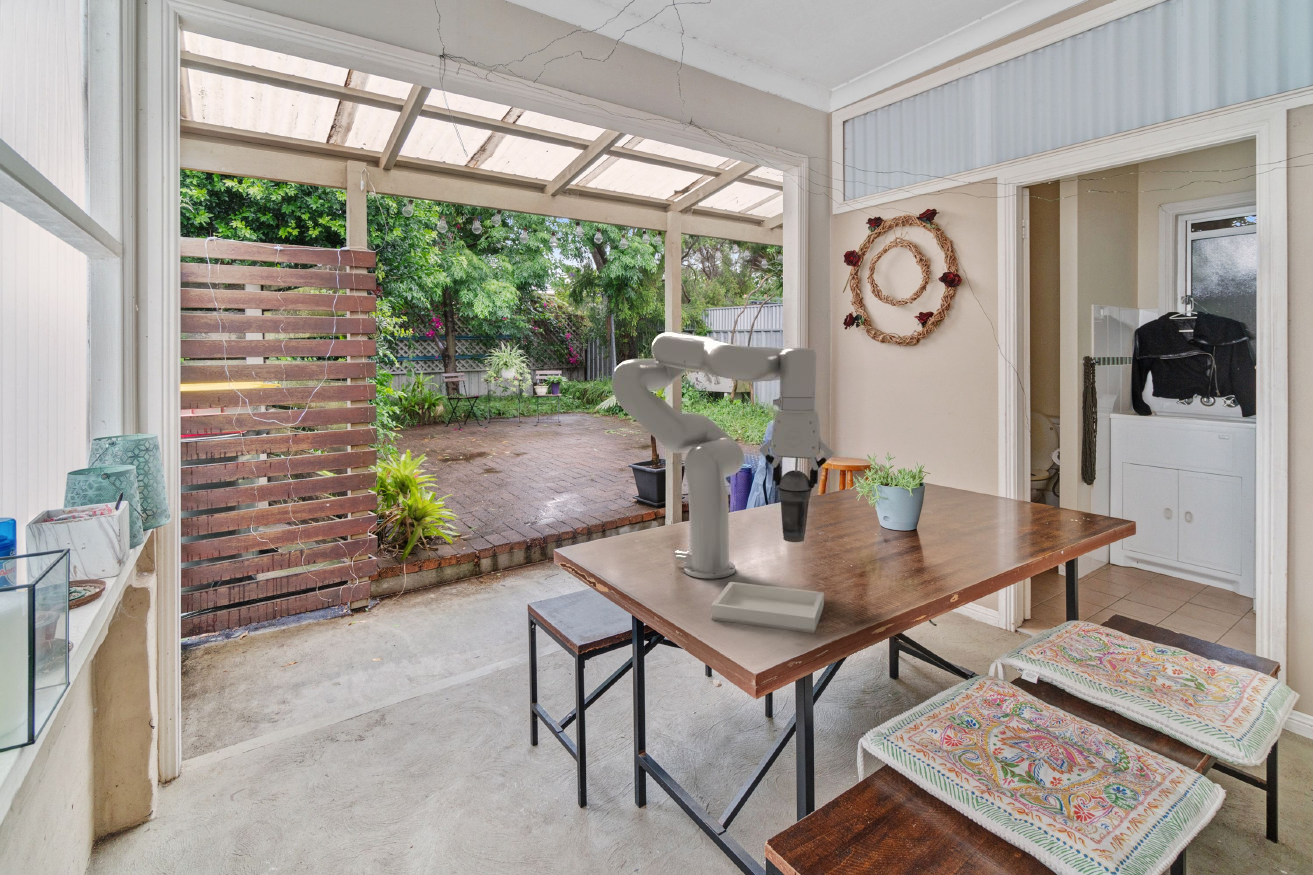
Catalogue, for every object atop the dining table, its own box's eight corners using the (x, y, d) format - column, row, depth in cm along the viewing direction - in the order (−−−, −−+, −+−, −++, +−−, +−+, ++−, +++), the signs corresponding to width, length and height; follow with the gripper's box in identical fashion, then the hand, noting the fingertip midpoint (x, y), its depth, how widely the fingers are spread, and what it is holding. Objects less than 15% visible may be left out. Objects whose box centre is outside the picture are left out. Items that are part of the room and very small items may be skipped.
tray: (711, 619, 125) (711, 604, 124) (730, 594, 138) (729, 581, 137) (814, 633, 117) (814, 617, 117) (823, 606, 130) (823, 592, 130)
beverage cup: (805, 534, 144) (807, 448, 141) (814, 543, 137) (817, 453, 134) (773, 535, 144) (775, 448, 141) (781, 544, 136) (783, 453, 134)
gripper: (753, 405, 136) (752, 486, 138) (836, 407, 130) (833, 492, 132) (761, 403, 143) (759, 480, 145) (840, 405, 137) (837, 485, 139)
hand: (795, 485), depth 139 cm, fingers closed on beverage cup, 6 cm apart
